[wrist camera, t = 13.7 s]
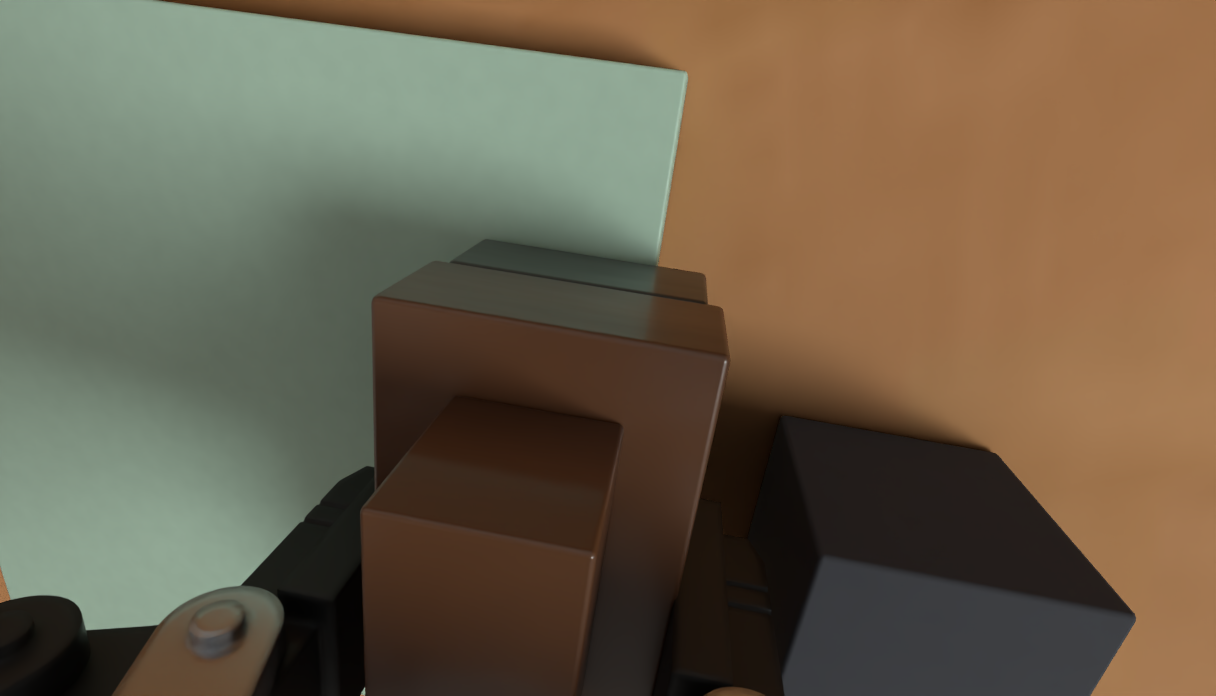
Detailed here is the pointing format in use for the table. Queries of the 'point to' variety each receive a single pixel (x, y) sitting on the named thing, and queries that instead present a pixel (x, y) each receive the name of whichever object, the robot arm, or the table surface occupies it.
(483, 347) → the brown stepped block
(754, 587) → the robot arm
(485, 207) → the tray
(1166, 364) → the table surface
